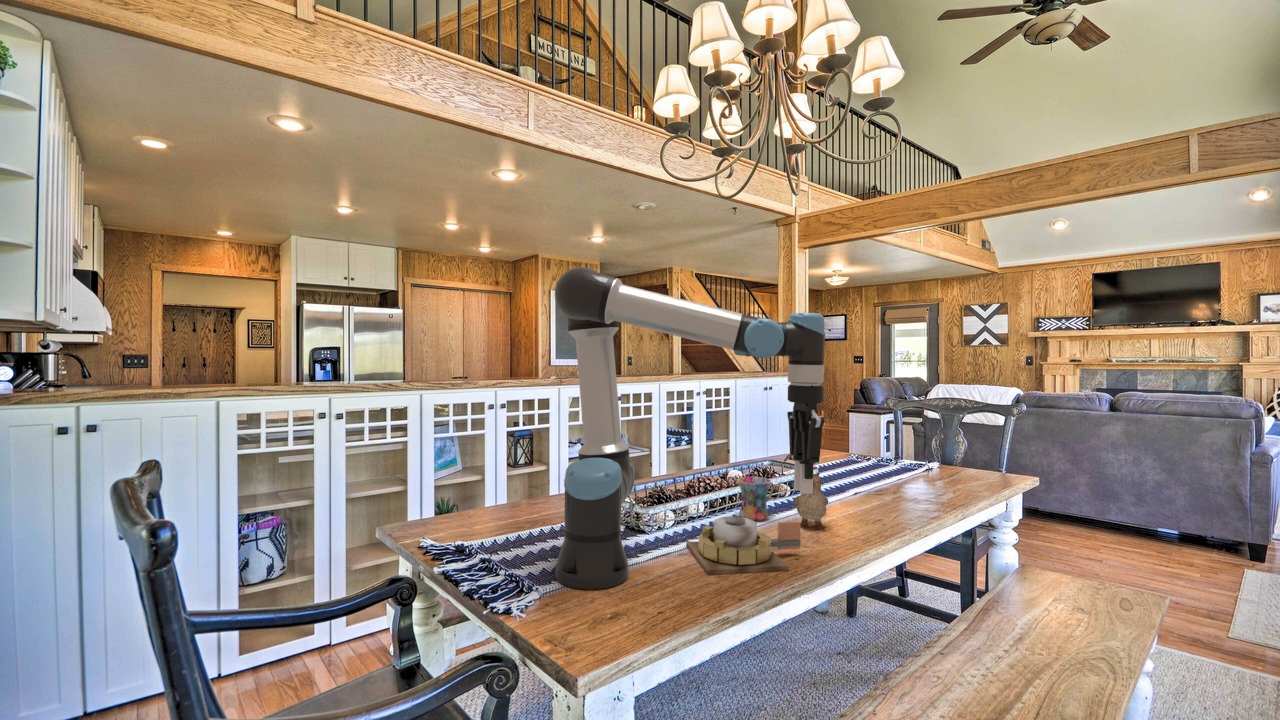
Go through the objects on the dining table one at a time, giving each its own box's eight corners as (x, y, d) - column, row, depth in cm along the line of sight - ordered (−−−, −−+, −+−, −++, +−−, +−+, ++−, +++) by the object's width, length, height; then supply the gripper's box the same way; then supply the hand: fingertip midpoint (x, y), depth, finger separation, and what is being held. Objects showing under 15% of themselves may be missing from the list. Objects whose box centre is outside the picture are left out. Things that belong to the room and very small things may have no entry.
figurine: (791, 529, 157) (793, 473, 157) (793, 519, 166) (794, 466, 166) (828, 533, 154) (829, 475, 154) (827, 522, 164) (828, 468, 163)
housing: (707, 574, 125) (708, 533, 125) (685, 545, 144) (686, 508, 144) (788, 570, 129) (789, 529, 128) (756, 541, 147) (757, 506, 147)
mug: (753, 524, 161) (753, 485, 161) (730, 516, 169) (730, 478, 169) (784, 518, 168) (785, 480, 167) (761, 510, 175) (762, 474, 175)
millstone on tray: (711, 566, 127) (711, 537, 126) (691, 541, 142) (691, 516, 142) (814, 560, 131) (815, 533, 130) (784, 537, 146) (785, 512, 146)
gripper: (839, 386, 123) (836, 500, 124) (806, 382, 138) (804, 483, 139) (805, 386, 122) (802, 501, 123) (775, 381, 137) (773, 484, 138)
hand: (803, 491), depth 131 cm, fingers open, 2 cm apart
